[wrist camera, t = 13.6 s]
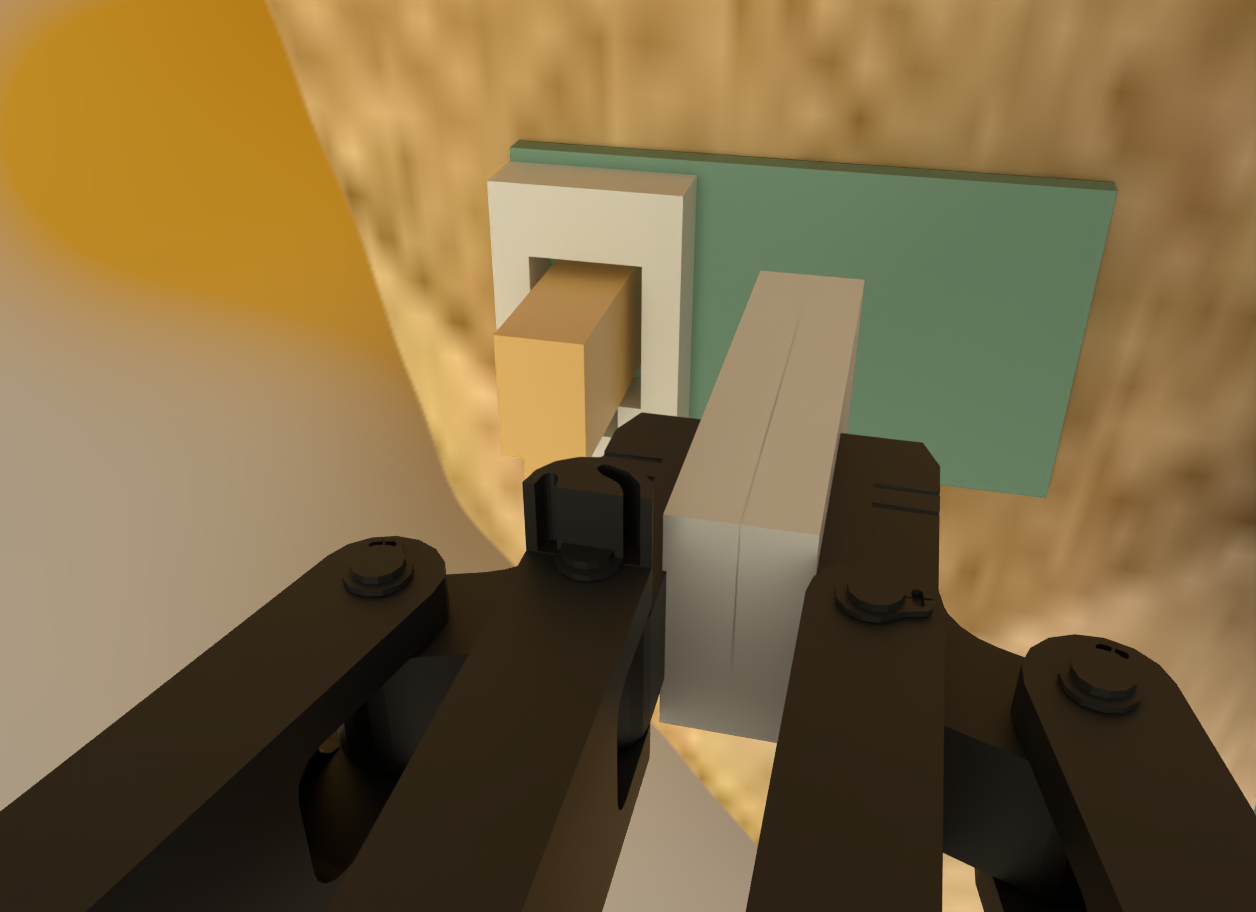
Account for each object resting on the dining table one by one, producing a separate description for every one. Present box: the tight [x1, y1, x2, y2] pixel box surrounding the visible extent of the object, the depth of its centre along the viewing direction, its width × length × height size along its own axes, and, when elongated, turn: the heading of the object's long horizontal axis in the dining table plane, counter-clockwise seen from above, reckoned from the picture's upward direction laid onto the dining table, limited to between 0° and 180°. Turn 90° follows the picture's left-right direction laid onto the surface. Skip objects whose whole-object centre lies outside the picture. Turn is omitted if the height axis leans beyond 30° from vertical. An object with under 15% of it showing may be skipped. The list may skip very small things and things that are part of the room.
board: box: [487, 141, 1117, 498], centre depth 41 cm, size 21×12×4 cm, turn 89°
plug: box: [494, 259, 642, 479], centre depth 40 cm, size 3×5×8 cm, turn 179°
